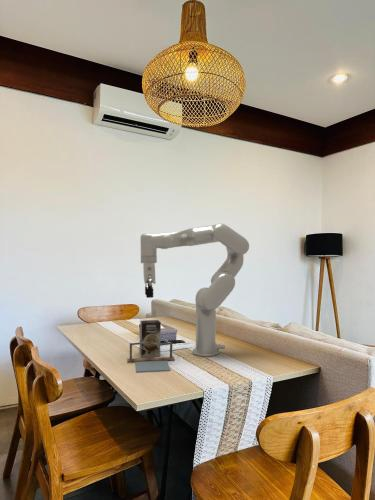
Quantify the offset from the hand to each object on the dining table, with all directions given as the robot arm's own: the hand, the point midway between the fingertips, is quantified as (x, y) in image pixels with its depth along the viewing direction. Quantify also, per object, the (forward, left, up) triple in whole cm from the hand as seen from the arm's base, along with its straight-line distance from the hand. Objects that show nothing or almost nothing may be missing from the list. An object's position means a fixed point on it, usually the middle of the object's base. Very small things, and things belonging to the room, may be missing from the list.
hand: (149, 296), depth 163 cm
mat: (-1, +17, -28) cm, 32 cm away
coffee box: (-1, 0, -28) cm, 28 cm away
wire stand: (-1, +9, -28) cm, 29 cm away
